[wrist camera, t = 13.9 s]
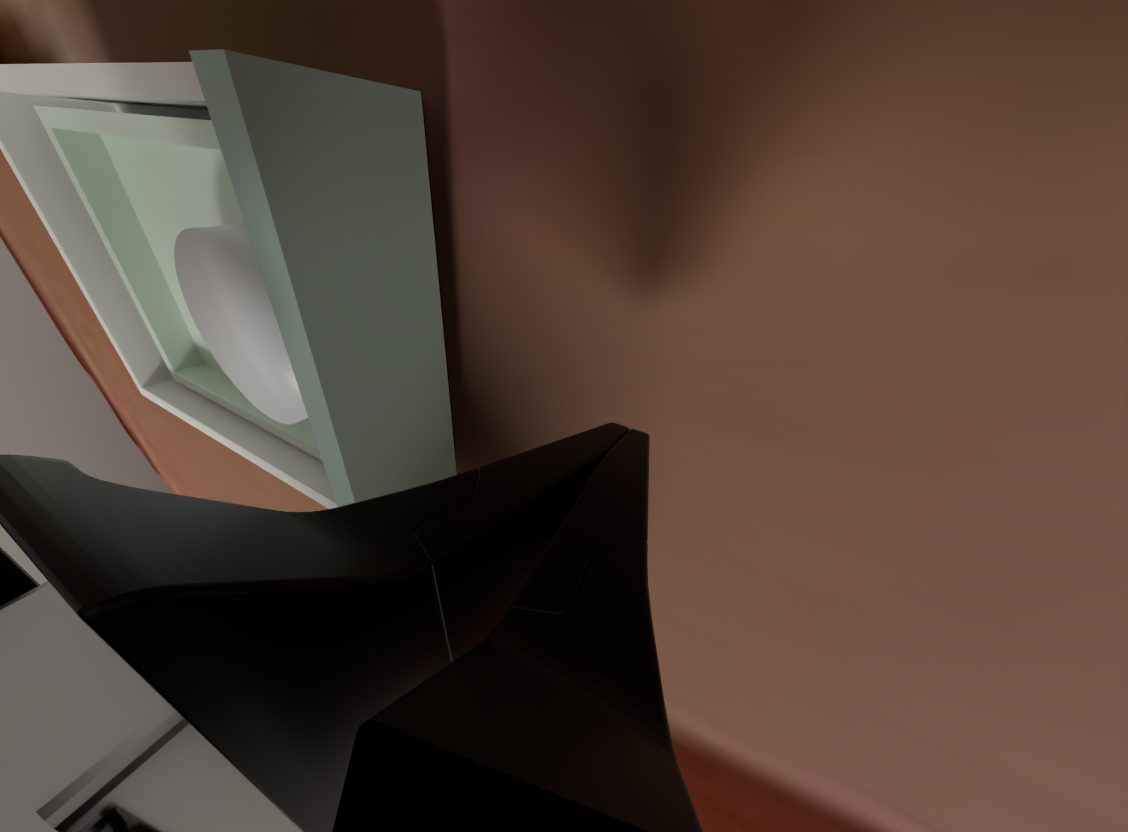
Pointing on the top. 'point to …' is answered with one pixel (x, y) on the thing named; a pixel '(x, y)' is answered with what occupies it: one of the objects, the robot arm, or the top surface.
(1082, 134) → the top surface
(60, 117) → the drawer
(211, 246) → the dome
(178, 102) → the shallow white bin
